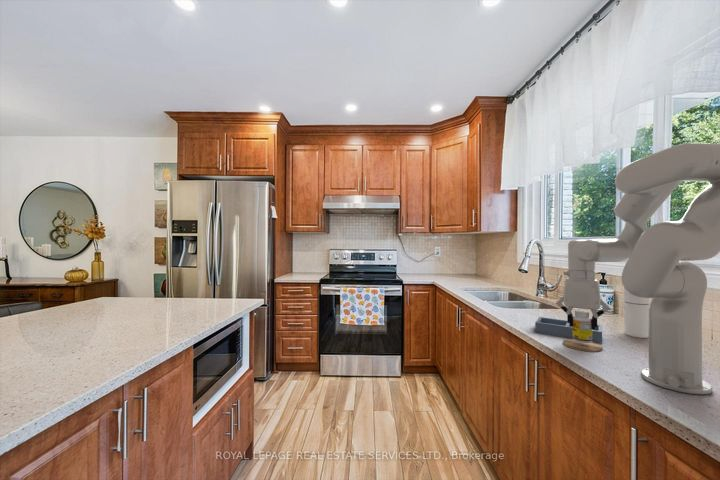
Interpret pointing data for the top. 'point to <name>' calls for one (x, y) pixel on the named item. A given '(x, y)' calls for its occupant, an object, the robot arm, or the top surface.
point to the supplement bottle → (582, 327)
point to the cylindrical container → (636, 315)
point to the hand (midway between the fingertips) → (582, 326)
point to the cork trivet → (582, 346)
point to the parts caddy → (563, 328)
